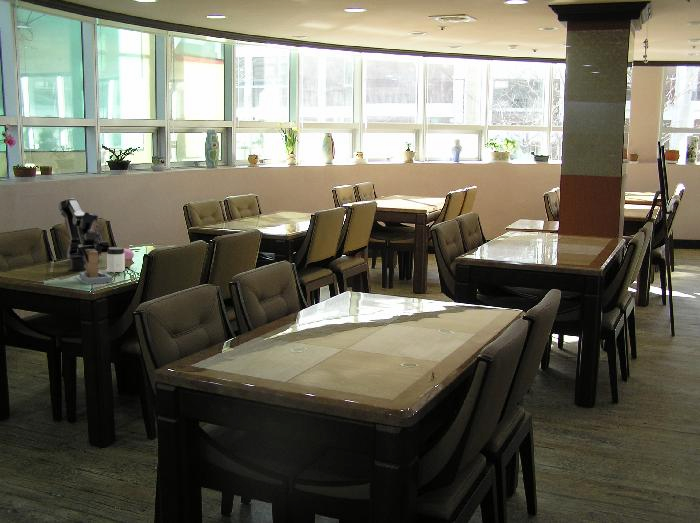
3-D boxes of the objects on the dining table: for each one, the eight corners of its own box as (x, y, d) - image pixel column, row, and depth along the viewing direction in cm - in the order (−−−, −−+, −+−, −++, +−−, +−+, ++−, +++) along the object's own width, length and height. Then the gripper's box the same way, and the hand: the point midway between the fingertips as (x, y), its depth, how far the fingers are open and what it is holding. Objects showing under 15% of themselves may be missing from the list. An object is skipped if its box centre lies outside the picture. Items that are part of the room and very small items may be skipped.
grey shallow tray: (75, 277, 379) (75, 272, 379) (102, 275, 386) (102, 270, 386) (86, 284, 364) (86, 278, 364) (114, 282, 372) (113, 276, 371)
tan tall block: (86, 275, 380) (85, 250, 378) (94, 275, 382) (94, 249, 380) (89, 278, 375) (89, 252, 373) (98, 277, 377) (97, 251, 375)
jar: (109, 273, 393) (109, 249, 391) (104, 270, 399) (104, 247, 398) (127, 272, 398) (127, 248, 396) (122, 269, 404) (122, 246, 402)
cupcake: (135, 266, 415) (135, 247, 413) (131, 269, 406) (131, 250, 405) (118, 266, 415) (118, 247, 413) (114, 268, 406) (113, 249, 404)
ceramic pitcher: (97, 263, 421) (97, 216, 417) (58, 261, 421) (57, 215, 417) (108, 258, 438) (107, 213, 434) (70, 256, 438) (69, 212, 434)
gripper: (68, 226, 372) (75, 252, 365) (108, 225, 383) (115, 250, 376) (64, 240, 380) (71, 266, 373) (103, 238, 390) (110, 264, 383)
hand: (92, 261), depth 376 cm, fingers closed on tan tall block, 4 cm apart
